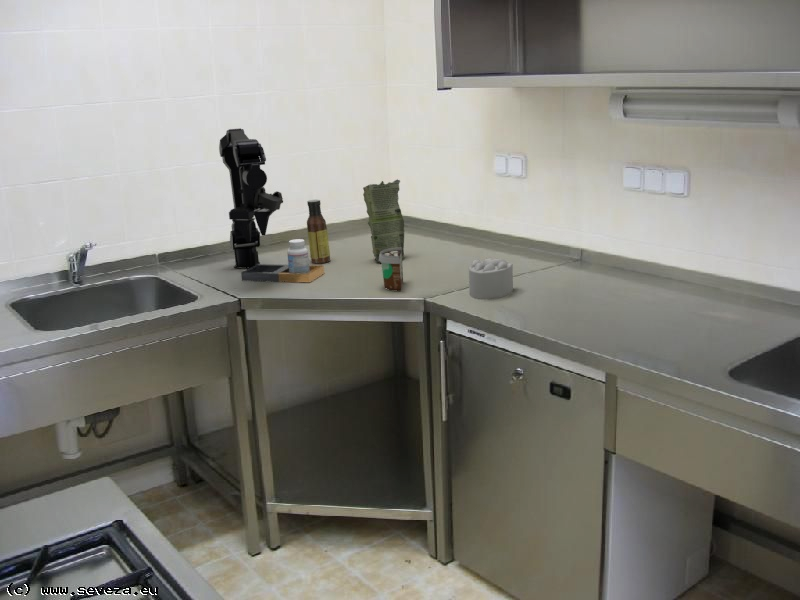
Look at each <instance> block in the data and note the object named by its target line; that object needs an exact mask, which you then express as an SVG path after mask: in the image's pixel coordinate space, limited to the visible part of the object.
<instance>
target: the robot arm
mask: <svg viewBox="0 0 800 600" xmlns="http://www.w3.org/2000/svg"><path fill="white" fill-rule="evenodd" d="M218 150H219V156H220V157H221V159H222V163H223V164H224V165H225V167H226V168H227V170H228V172H229V179H230V186H231V187H230V188H231V193H232V202H233V208H232V209H231V208H230V210H229V212H228V217H229V218H228V219H229V220H231V221H232V222H231V223H232V224H231V230H230V235H229V245H230V248H231V249H232V251H233V252H234V253H233V254H234V260H235V262H234V263H235V265H234V266H233V268H234V269H249V268H251V267H253V266H255V265H257V264H261V262H260V260H259V252H258V250H257V248H259V247H260V246H261V236H266V234H267V227H268V223H269V220H270V217H271V216H272V214H274V213H275V212H276V211H277V210H280V208H281V205H282V204H284V198H283V195H282V192H280V191H279V190H278V191H273V193H268V192H267V191H266V188H265V185H266V184H267V181H268V176H267V174H266V172H265V171H264V170H263V169H262V168H261V166H262V165H266V161H267V158H266V153H265V150H264V147H263V146H262V144H261V143H260V142H259V141H258V140H257V139H255V138H249V137H248V135H247V134H245V131H244V129H243V128H241V127H240V128H230V129H229V128H228V130H226V133H225V135H224V136H222V137H221V138H220V139H219V145H218ZM256 224H257V225H256Z"/></svg>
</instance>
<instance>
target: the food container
mask: <svg viewBox="0 0 800 600" xmlns="http://www.w3.org/2000/svg"><path fill="white" fill-rule="evenodd" d="M379 261H380V262H381V263H380V262H379V263H380V264H381V271H382V278H383V279H382V280H383V286H384V289H385V288H387V289H389V290H388V291H392V290H397V291H396V292H402V291H401V290H403V286H404V272H403V256H402V247H396V248H389V249H385V250H382V251H381V252H380V254H379ZM387 289H386V290H387Z"/></svg>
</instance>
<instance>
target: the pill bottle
mask: <svg viewBox="0 0 800 600" xmlns="http://www.w3.org/2000/svg"><path fill="white" fill-rule="evenodd" d="M305 242H306V241H305V239H303V238H298V239H297V238H295V239H291V240H289V241H288V245H289V248H288V250H287V263H288V264H287V265H289V273H308V272H310V268H309V265H310V259H309V250H308V247H306V246H305V245H306V243H305Z"/></svg>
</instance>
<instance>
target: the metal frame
mask: <svg viewBox="0 0 800 600" xmlns="http://www.w3.org/2000/svg"><path fill="white" fill-rule="evenodd" d="M309 268H310V272H308V273H289V265H288V264H283V263H282V264H276V263H275V264H274V263H271V264H270V263H268V264H267V263H260V264H257V265H255V266H253V267H251V268H246V269H244V270H243V271H241V272H240V275H241V276H240V277H241V282H243V281H244V282H266V281H271V282H272V281H273V283H275V282H276V283H299V282H310V283H312V282H313V281H315V280H316V279H318V278H319V276H320V277H321V276H323V275H324V274H325V265H321V264H318V265H316V264H315V265H313V264H312V265H311V264H309ZM322 274H323V275H322ZM317 277H318V278H317ZM314 279H315V280H314ZM312 280H313V281H312ZM280 281H281V282H280ZM282 281H283V282H282ZM284 281H285V282H284ZM311 281H312V282H311ZM271 282H270V283H271Z"/></svg>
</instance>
